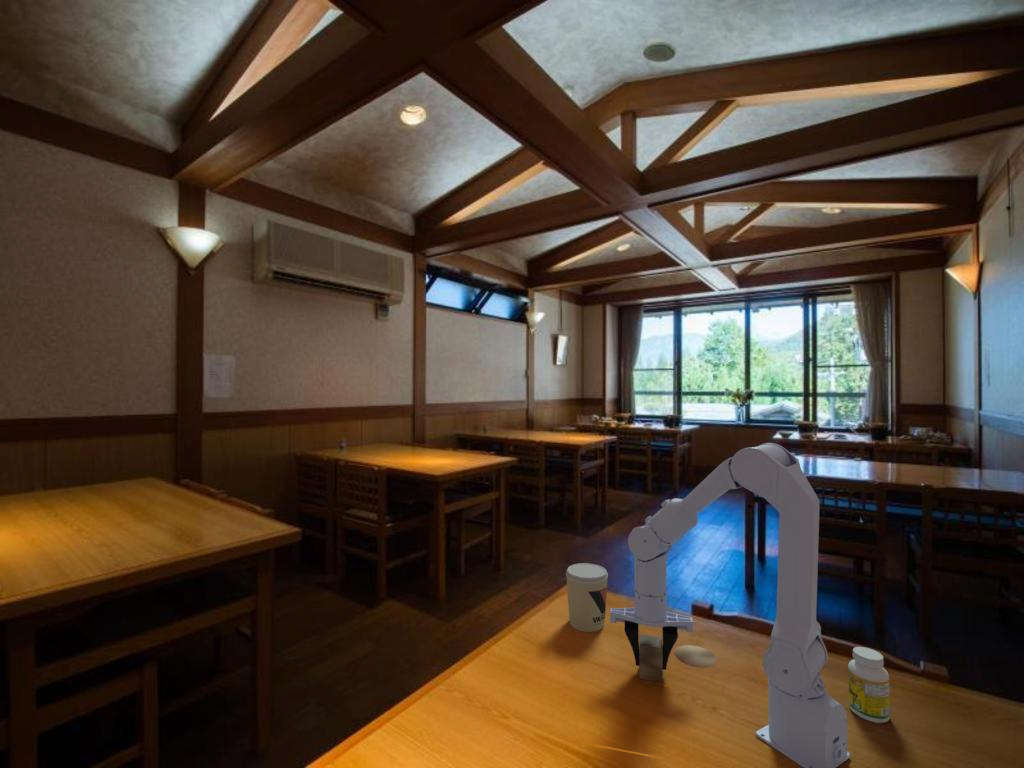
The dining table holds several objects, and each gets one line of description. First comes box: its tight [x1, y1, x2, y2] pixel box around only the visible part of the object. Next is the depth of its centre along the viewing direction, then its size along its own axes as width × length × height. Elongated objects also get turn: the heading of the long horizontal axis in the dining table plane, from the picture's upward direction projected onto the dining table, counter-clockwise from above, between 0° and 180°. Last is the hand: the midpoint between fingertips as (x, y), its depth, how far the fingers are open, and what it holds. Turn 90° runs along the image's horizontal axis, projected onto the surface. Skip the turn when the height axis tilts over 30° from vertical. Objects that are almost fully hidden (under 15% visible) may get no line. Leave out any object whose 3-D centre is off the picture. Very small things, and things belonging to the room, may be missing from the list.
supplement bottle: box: [847, 646, 891, 724], centre depth 78 cm, size 5×5×10 cm
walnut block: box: [638, 634, 664, 683], centre depth 88 cm, size 4×4×6 cm
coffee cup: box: [565, 562, 609, 633], centre depth 107 cm, size 9×9×12 cm
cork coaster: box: [674, 644, 717, 668], centre depth 94 cm, size 8×8×1 cm
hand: (650, 664), depth 88 cm, fingers closed on walnut block, 4 cm apart
